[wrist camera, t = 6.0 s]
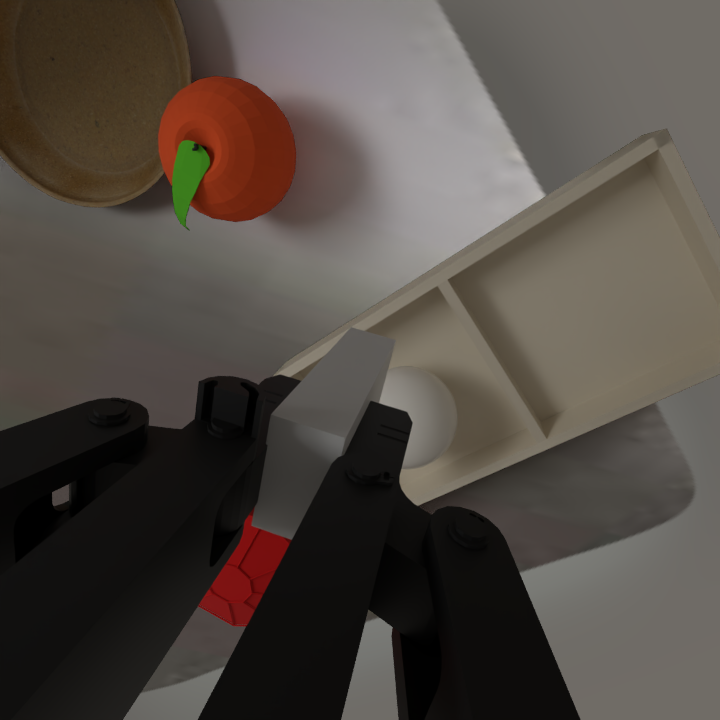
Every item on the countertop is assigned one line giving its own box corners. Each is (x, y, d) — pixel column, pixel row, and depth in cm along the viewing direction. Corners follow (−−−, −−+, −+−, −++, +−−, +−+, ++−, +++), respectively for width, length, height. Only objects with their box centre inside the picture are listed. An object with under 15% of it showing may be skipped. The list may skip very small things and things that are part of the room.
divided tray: (288, 360, 32) (271, 376, 29) (642, 135, 23) (666, 128, 21) (385, 495, 34) (379, 522, 31) (740, 332, 26) (774, 350, 23)
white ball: (347, 380, 31) (322, 422, 25) (425, 334, 28) (417, 370, 23) (396, 450, 32) (384, 506, 26) (475, 412, 30) (479, 463, 24)
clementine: (274, 254, 29) (221, 273, 23) (180, 195, 29) (100, 198, 23) (333, 131, 26) (291, 112, 20) (228, 65, 26) (151, 25, 20)
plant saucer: (237, 190, 29) (217, 191, 26) (41, 217, 32) (7, 220, 30) (179, -112, 24) (148, -146, 22) (-45, -44, 27) (-93, -66, 25)
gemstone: (271, 405, 33) (200, 488, 24) (366, 479, 34) (332, 588, 25) (212, 480, 37) (130, 577, 28) (299, 546, 37) (248, 663, 28)
